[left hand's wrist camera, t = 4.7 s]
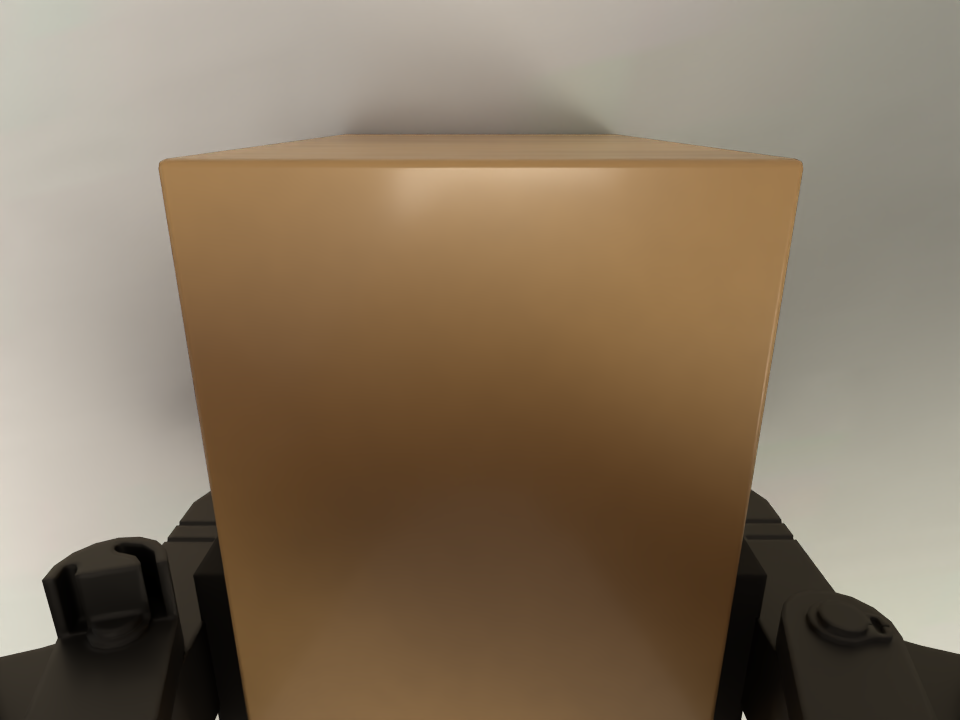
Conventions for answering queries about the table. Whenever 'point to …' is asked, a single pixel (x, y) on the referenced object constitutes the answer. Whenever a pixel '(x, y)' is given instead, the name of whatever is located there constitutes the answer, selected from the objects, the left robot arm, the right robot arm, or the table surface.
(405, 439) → the post
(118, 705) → the left robot arm
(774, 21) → the table surface
